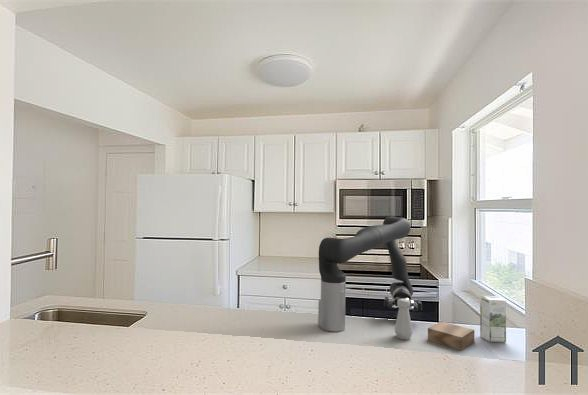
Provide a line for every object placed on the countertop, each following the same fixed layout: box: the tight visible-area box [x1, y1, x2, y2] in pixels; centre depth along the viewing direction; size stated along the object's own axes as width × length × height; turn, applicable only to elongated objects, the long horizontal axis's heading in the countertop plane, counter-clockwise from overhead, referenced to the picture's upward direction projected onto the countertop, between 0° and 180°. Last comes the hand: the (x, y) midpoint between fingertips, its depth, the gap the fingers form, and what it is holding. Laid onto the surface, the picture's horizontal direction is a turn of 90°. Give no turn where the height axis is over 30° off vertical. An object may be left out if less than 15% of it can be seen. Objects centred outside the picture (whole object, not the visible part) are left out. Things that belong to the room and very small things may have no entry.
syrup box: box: [479, 295, 507, 343], centre depth 111 cm, size 6×6×14 cm
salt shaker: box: [394, 299, 413, 341], centre depth 111 cm, size 6×6×13 cm
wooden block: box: [427, 321, 475, 351], centre depth 109 cm, size 11×11×4 cm
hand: (402, 308), depth 122 cm, fingers open, 8 cm apart
